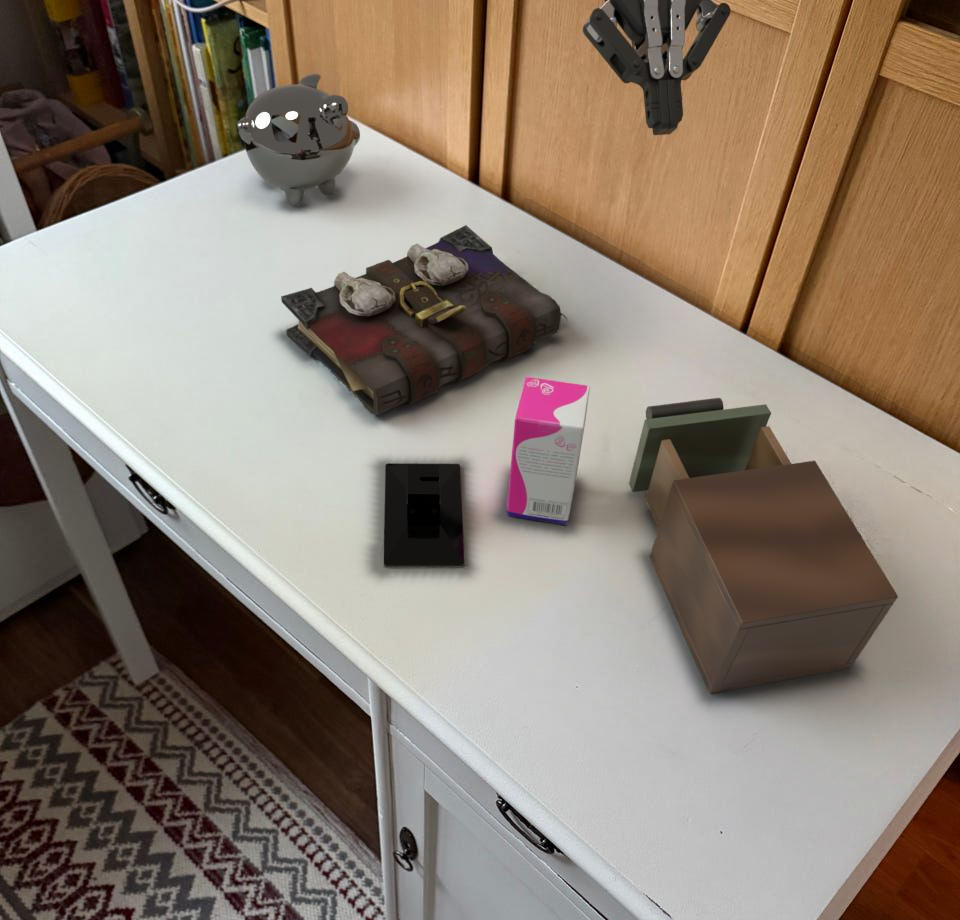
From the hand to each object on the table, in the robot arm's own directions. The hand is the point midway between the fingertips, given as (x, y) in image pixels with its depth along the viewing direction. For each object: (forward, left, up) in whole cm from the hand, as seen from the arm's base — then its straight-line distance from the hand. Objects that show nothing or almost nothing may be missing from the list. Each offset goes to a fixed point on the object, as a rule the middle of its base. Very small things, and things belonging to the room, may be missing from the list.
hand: (666, 131), depth 81 cm
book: (+20, -6, -23) cm, 31 cm away
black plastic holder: (+25, +19, -23) cm, 39 cm away
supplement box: (+14, +19, -23) cm, 33 cm away
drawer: (0, +24, -22) cm, 33 cm away
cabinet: (0, +35, -23) cm, 42 cm away
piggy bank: (+29, -37, -23) cm, 52 cm away
